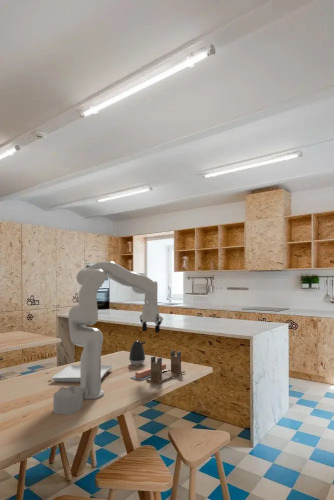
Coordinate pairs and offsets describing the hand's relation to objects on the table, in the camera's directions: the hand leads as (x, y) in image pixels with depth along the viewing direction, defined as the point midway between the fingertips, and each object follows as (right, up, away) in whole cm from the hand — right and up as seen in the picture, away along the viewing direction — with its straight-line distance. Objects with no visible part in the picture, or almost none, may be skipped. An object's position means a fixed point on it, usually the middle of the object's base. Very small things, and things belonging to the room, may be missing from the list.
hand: (150, 331), depth 197 cm
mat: (0, -24, -2) cm, 24 cm away
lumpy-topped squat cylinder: (-32, -21, -52) cm, 65 cm away
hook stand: (+9, -24, -8) cm, 27 cm away
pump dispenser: (-10, -26, +20) cm, 34 cm away
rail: (0, -24, -2) cm, 24 cm away
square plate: (-38, -25, -5) cm, 45 cm away
